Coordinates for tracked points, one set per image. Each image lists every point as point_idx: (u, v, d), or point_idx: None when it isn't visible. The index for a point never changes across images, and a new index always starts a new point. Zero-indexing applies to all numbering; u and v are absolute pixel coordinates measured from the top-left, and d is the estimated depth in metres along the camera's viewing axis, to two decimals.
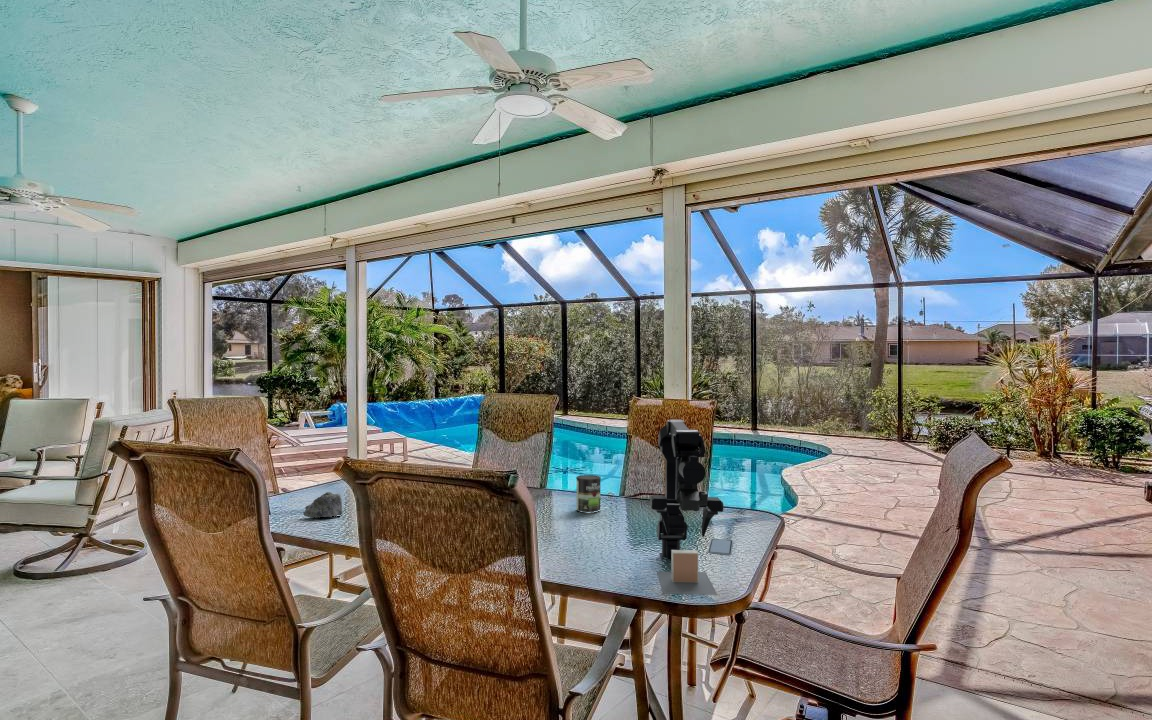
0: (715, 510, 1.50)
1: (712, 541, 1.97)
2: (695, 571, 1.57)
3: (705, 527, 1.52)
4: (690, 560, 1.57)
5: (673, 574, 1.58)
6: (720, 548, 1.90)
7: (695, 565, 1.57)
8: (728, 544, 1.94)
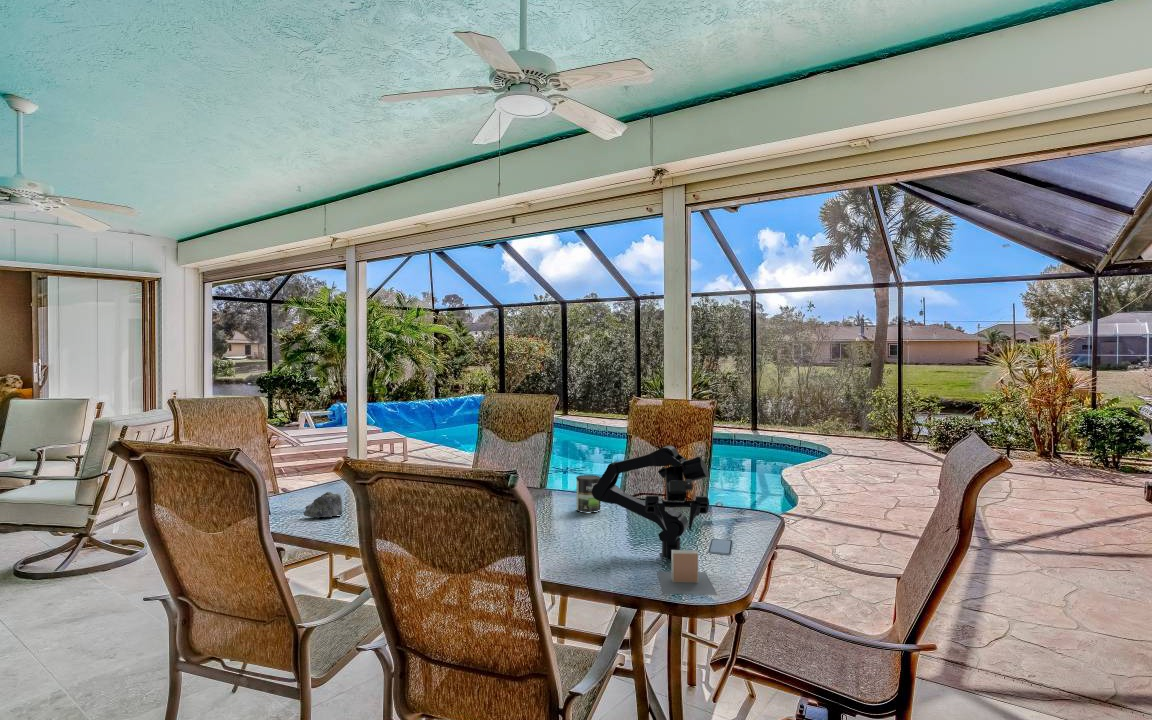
0: (701, 501, 1.70)
1: (712, 541, 1.97)
2: (695, 571, 1.57)
3: (691, 520, 1.68)
4: (690, 560, 1.57)
5: (673, 574, 1.58)
6: (720, 548, 1.90)
7: (695, 565, 1.57)
8: (728, 544, 1.94)
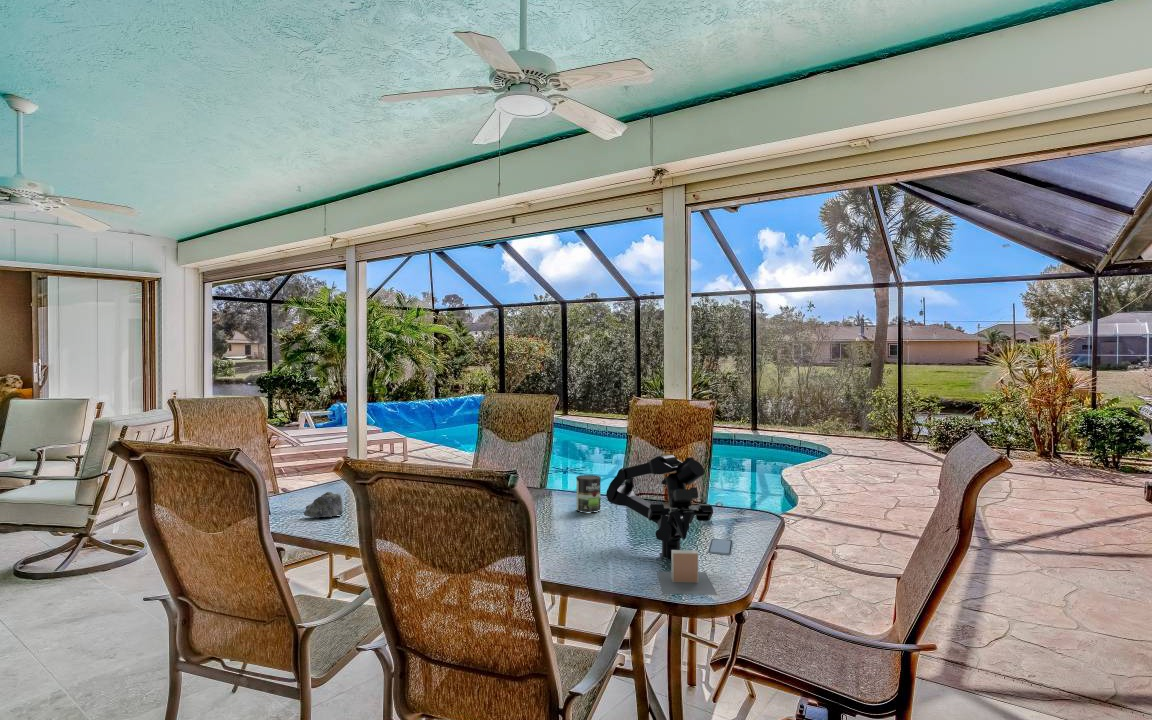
0: (706, 509, 1.70)
1: (712, 541, 1.97)
2: (695, 571, 1.57)
3: (685, 528, 1.68)
4: (690, 560, 1.57)
5: (673, 574, 1.58)
6: (720, 548, 1.90)
7: (695, 565, 1.57)
8: (728, 544, 1.94)
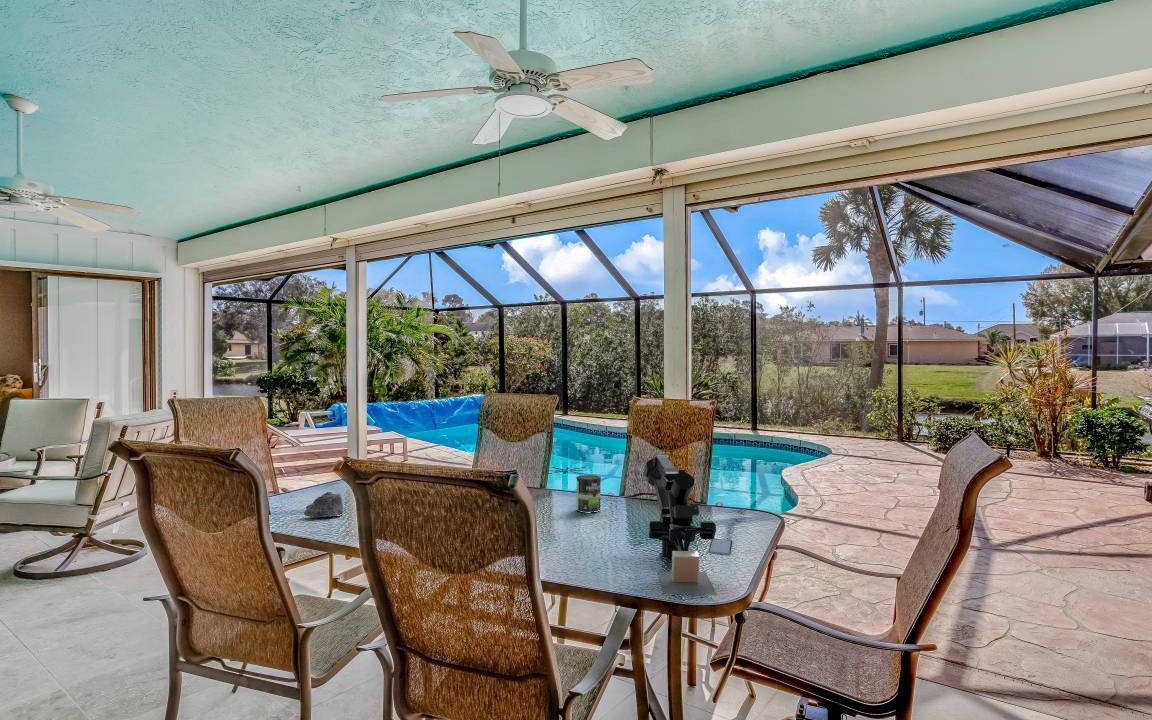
0: (708, 527, 1.62)
1: (712, 541, 1.97)
2: (695, 573, 1.56)
3: (686, 547, 1.60)
4: (691, 563, 1.56)
5: (673, 575, 1.57)
6: (720, 548, 1.90)
7: (696, 567, 1.56)
8: (728, 544, 1.94)
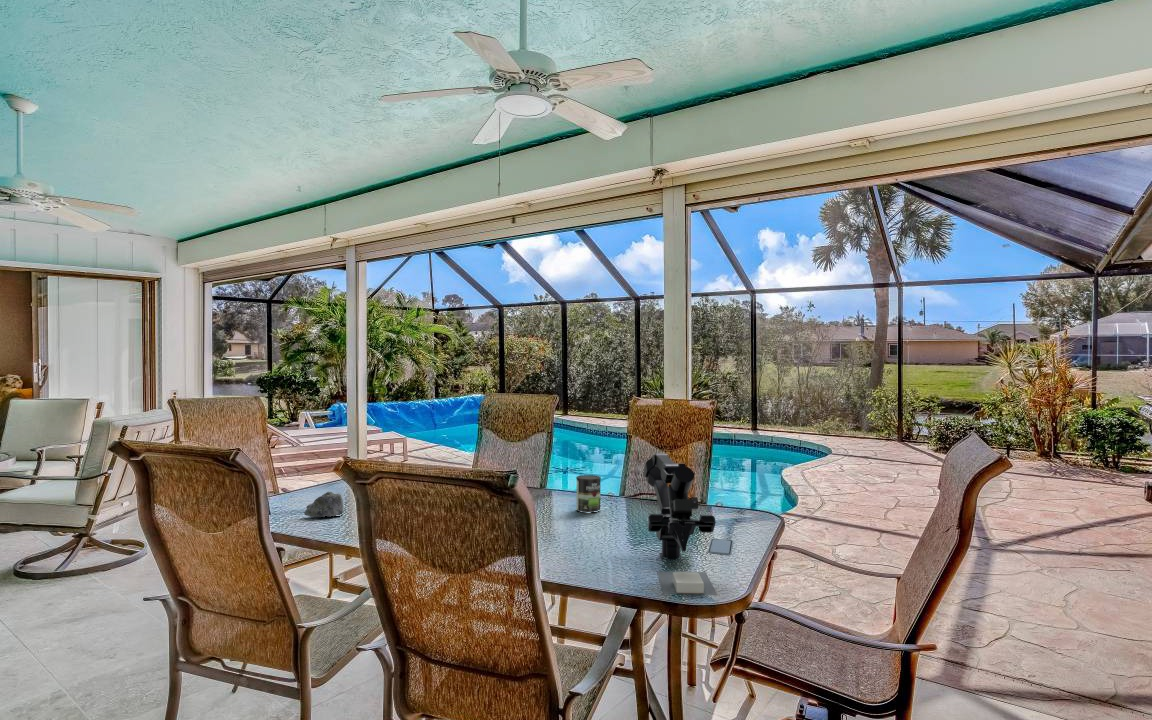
0: (708, 520, 1.63)
1: (712, 541, 1.97)
2: None
3: (685, 540, 1.61)
4: None
5: (674, 584, 1.55)
6: (720, 548, 1.90)
7: None
8: (728, 544, 1.94)
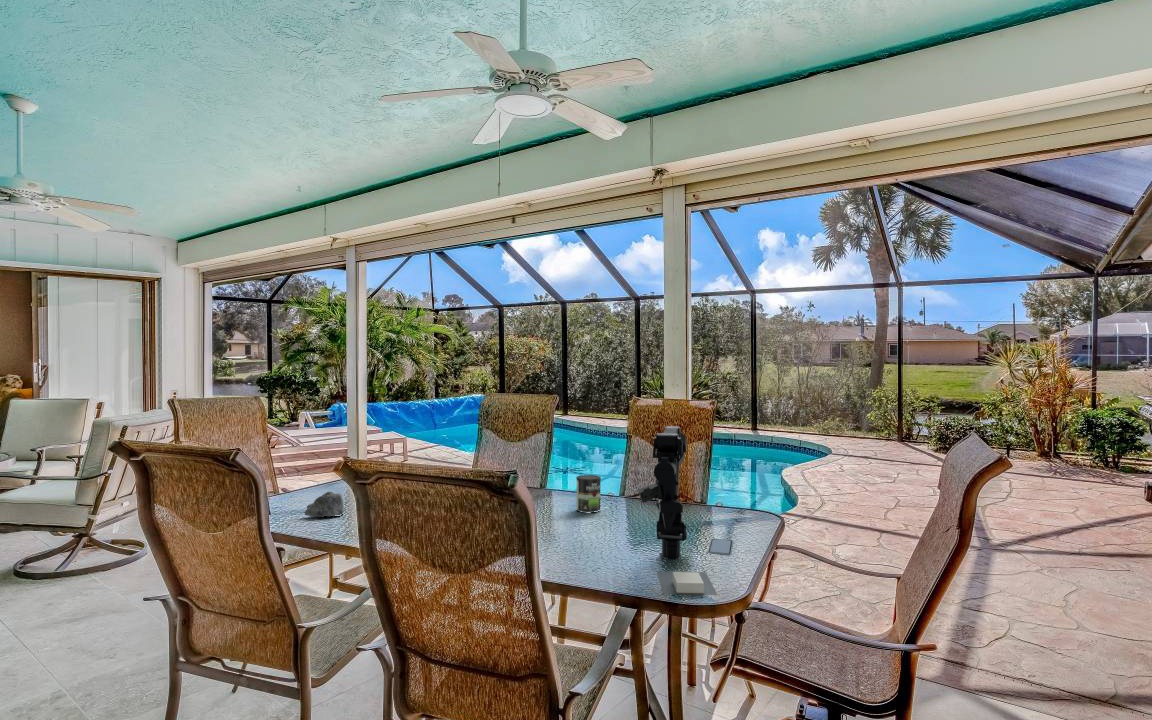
0: (659, 509, 1.61)
1: (712, 541, 1.97)
2: None
3: (664, 521, 1.67)
4: None
5: (674, 584, 1.55)
6: (720, 548, 1.90)
7: None
8: (728, 544, 1.94)
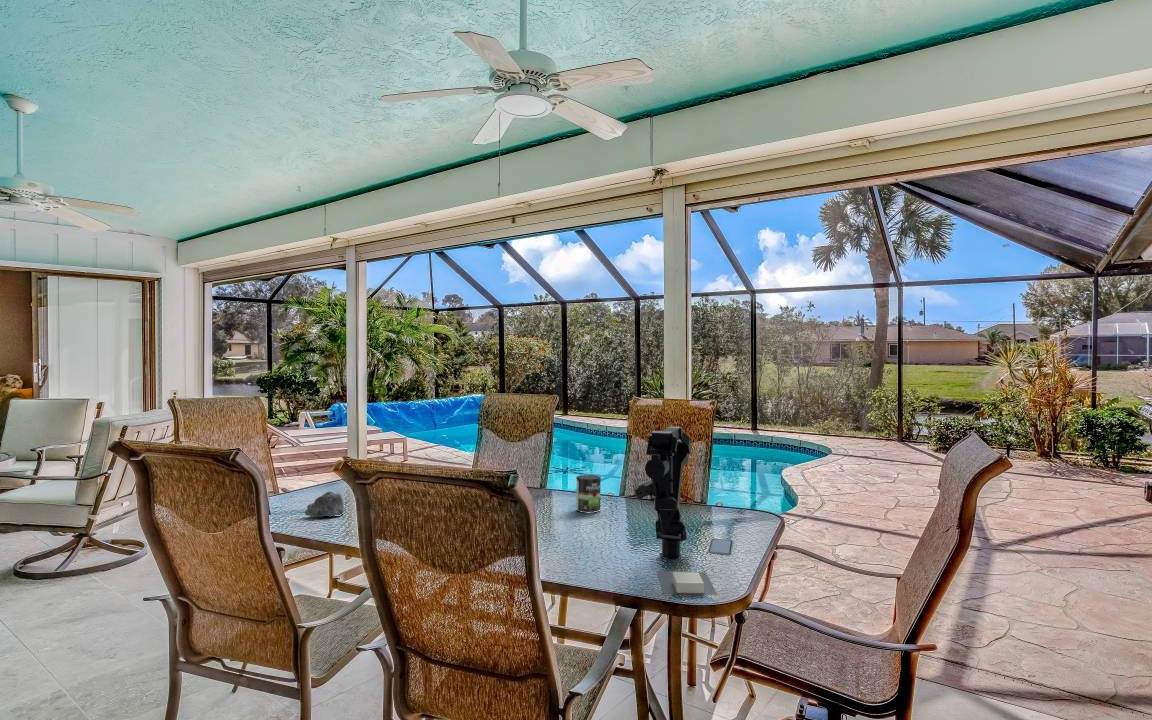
0: (654, 506, 1.62)
1: (712, 541, 1.97)
2: None
3: (660, 522, 1.64)
4: None
5: (674, 584, 1.55)
6: (720, 548, 1.90)
7: None
8: (728, 544, 1.94)
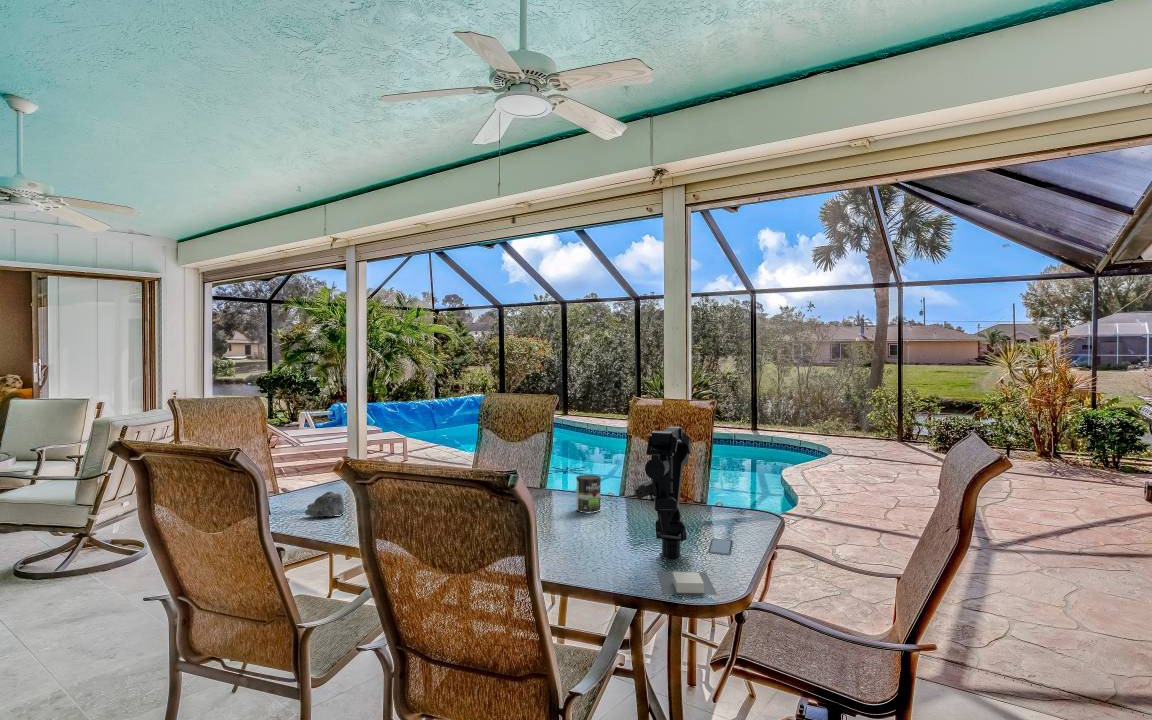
0: (654, 506, 1.62)
1: (712, 541, 1.97)
2: None
3: (660, 522, 1.64)
4: None
5: (674, 584, 1.55)
6: (720, 548, 1.90)
7: None
8: (728, 544, 1.94)
